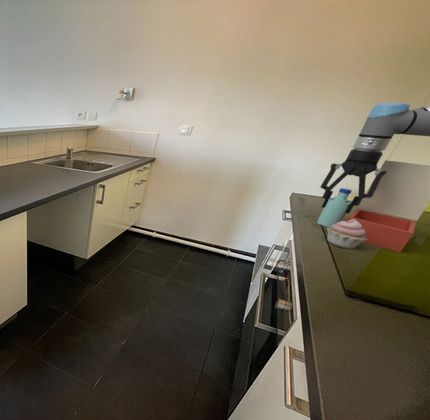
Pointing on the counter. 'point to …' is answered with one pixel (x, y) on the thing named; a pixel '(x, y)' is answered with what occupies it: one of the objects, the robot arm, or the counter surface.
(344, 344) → the counter surface
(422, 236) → the counter surface
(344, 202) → the bottle
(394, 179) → the lid
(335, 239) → the cupcake
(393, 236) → the box
